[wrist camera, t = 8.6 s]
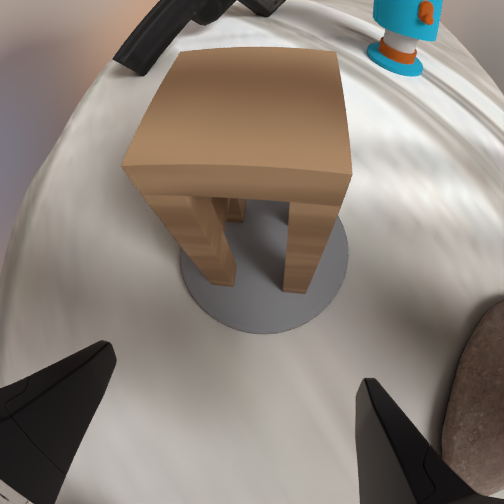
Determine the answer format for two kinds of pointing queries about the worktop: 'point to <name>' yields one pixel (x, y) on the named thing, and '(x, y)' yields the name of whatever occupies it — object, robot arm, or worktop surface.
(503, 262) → the worktop surface
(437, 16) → the security camera
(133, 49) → the handgun
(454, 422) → the sculpture
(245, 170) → the stool
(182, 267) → the mat
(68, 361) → the robot arm
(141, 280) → the worktop surface
